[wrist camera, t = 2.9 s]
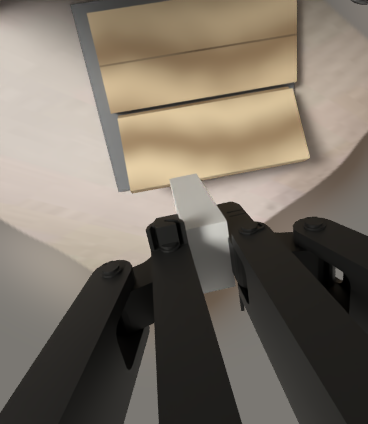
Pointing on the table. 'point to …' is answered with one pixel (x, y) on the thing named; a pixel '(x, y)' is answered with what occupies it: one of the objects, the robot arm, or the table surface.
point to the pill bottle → (360, 2)
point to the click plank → (212, 138)
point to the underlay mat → (108, 120)
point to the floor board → (193, 49)
